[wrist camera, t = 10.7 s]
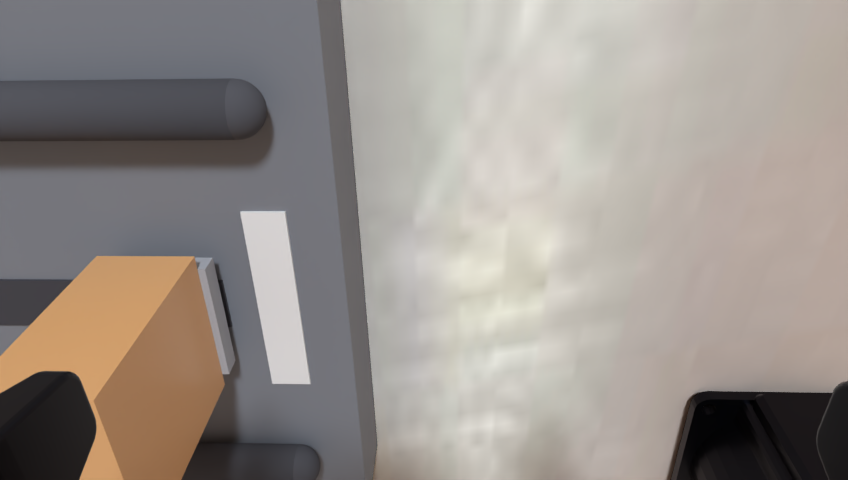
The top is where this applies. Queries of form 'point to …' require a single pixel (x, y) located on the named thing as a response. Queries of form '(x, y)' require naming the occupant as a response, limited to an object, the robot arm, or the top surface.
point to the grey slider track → (158, 121)
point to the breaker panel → (209, 202)
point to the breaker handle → (135, 358)
